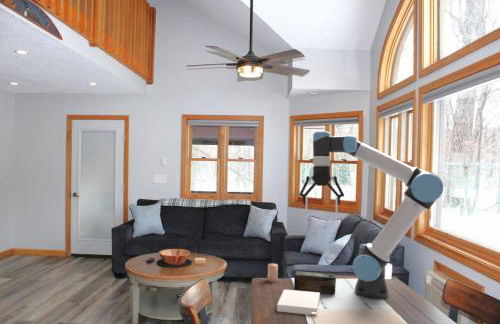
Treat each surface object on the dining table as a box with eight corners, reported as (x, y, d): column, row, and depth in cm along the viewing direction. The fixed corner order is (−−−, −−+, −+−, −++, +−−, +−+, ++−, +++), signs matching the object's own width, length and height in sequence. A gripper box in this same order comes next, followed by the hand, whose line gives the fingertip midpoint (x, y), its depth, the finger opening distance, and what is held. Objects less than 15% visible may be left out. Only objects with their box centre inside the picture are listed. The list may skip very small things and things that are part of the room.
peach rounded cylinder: (278, 279, 212) (278, 263, 212) (276, 282, 207) (277, 266, 207) (268, 278, 213) (268, 263, 213) (266, 281, 208) (267, 265, 208)
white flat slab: (319, 299, 183) (319, 292, 183) (316, 316, 164) (317, 308, 164) (283, 295, 187) (284, 289, 187) (276, 311, 167) (277, 304, 167)
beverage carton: (334, 290, 195) (335, 295, 189) (294, 287, 199) (293, 291, 192) (335, 274, 195) (336, 277, 189) (294, 270, 199) (294, 274, 192)
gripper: (348, 165, 192) (348, 211, 192) (294, 165, 195) (294, 210, 195) (349, 165, 184) (350, 213, 184) (293, 165, 188) (293, 212, 188)
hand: (321, 211), depth 190 cm, fingers open, 13 cm apart
